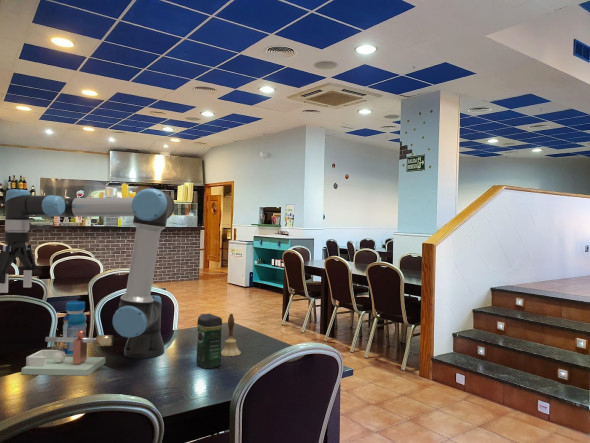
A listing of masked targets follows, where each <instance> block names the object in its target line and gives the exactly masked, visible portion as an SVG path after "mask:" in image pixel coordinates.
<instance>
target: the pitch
mask: <svg viewBox="0 0 590 443" xmlns="http://www.w3.org/2000/svg"><path fill="white" fill-rule="evenodd" d="M57 351H60V350H59V349H41V350H39V351H37V352H35V353H32V354H30V355H28V356H26V359H25V360H26V361H25V366H24V367H21V374H20V375H30V376H31V375H34V376H35V375H37V376H38V375H39V376H82V377H83V376H85V377H87V376H89V375H90V374H92V373H93V372H95V371H96V370H97V369H99V368H100V367H102V366H103V365H104V364H106V357H105V356H103V357H101V356H99V357H98V356H87V359H86V360H85V361H83V362H82V363H80V364H73V356H66V358H65V360H64V361H63V362H60V363H57V362H55V361H54V360H53V355H54V354H55V353H56V352H57Z"/></svg>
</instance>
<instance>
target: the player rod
mask: <svg viewBox="0 0 590 443" xmlns="http://www.w3.org/2000/svg"><path fill="white" fill-rule="evenodd" d="M76 336H77V337H78V338H72V337H63V336H61V337H60V336H45V339H44V342H46V343H63V342H74V345H73V356H72V357H73V364H80V363H82V362H83V361H85V360H86V359H87V357H88V344H89V343H94V344H95V346H97V347H100V346H101V347H112V346H113V345H114V342H115V337H114V335H112V334H111V335H110V334H107V335H106V334H104V335H103V334H97V336H96V337H88V336H86V337H84V336H85V332H84V331H83V330H80V331H78V332H77V334H76Z"/></svg>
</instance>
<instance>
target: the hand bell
mask: <svg viewBox="0 0 590 443" xmlns="http://www.w3.org/2000/svg"><path fill="white" fill-rule="evenodd" d="M234 326H235V317H234V314H233V313H229V316H228V319H227V327H228V338H227V339H225V341H224V346H223V349H221V357H222V356H223V357H231V356H232V357H237V356H240V355H241V354H242V352H241V350H239V348H238V344H237V340H236V339H235V338H234Z"/></svg>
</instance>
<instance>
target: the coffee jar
mask: <svg viewBox="0 0 590 443" xmlns="http://www.w3.org/2000/svg"><path fill="white" fill-rule="evenodd" d="M196 325H197V343H196V345H197V346H196V358H195V360H196V362H195V363H196V364H197V365H198V366H199V367H201V368H204V369H207V368H208V369H215V368H217V367H219V366H221V364H222V355H221V351H222V329H223V318H222V317H221V316H217V315H214V314H213V313H203V314H200V315H199V316H198V317H197V323H196Z"/></svg>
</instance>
